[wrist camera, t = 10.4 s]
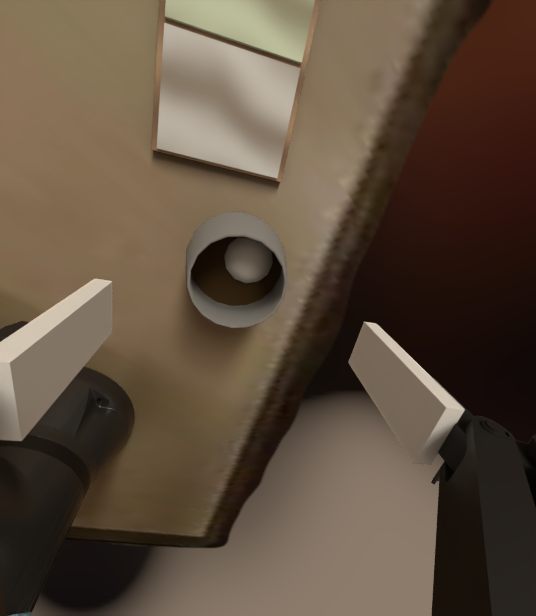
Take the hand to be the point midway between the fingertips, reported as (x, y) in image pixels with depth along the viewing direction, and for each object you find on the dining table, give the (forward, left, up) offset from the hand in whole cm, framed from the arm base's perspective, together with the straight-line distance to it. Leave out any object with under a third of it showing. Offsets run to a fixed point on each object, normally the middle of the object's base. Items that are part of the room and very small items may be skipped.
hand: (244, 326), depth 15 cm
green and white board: (+17, +3, -17) cm, 24 cm away
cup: (0, 0, -17) cm, 17 cm away
